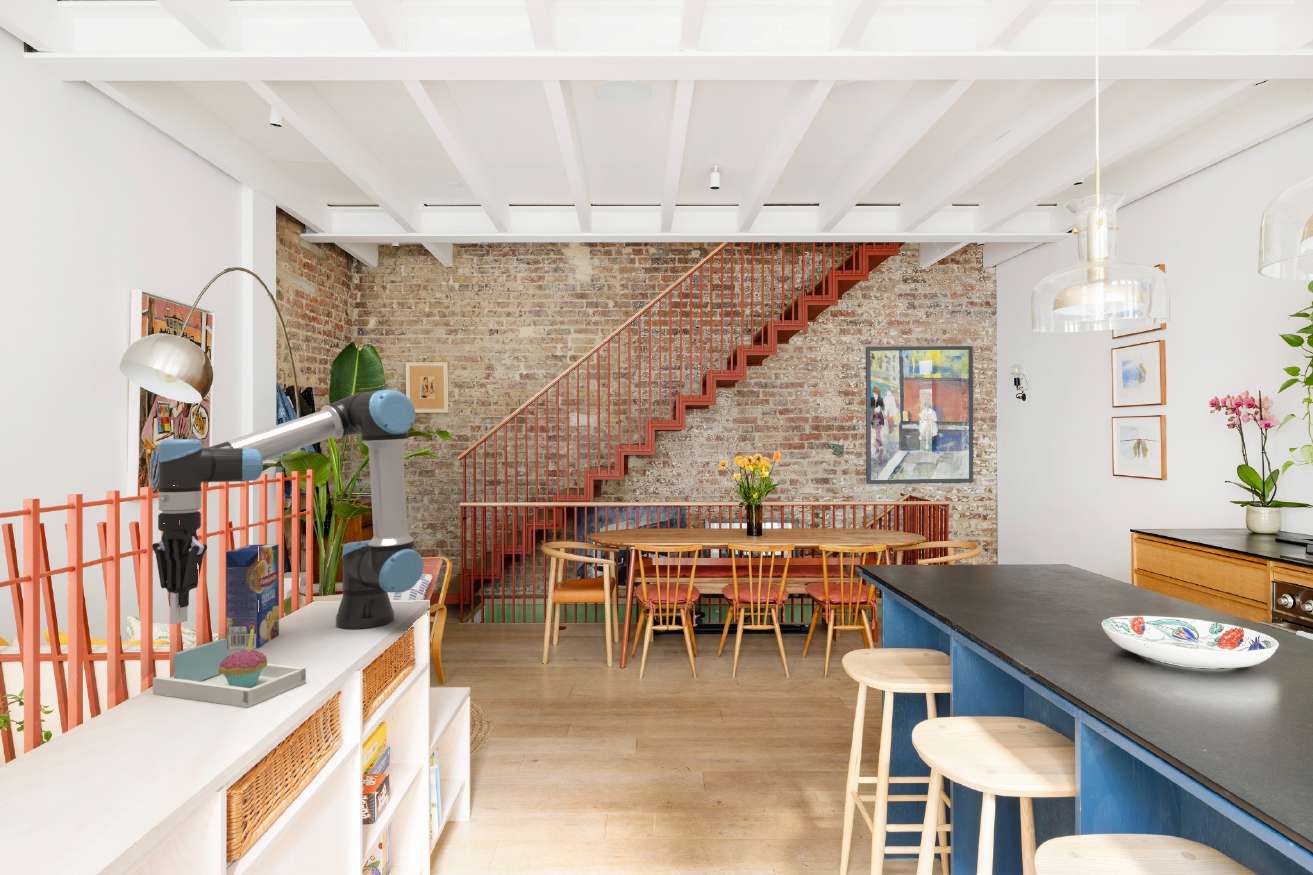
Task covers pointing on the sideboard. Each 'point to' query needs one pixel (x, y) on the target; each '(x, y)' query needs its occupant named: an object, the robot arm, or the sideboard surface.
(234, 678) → the cupcake
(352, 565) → the robot arm
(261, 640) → the juice carton
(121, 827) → the sideboard surface
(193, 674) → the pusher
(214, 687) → the white shallow tray
